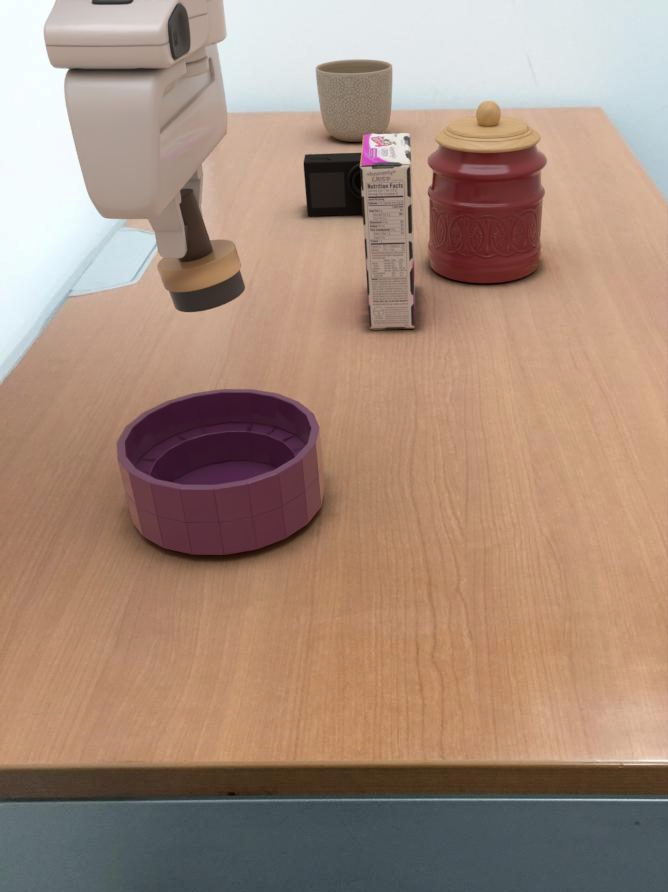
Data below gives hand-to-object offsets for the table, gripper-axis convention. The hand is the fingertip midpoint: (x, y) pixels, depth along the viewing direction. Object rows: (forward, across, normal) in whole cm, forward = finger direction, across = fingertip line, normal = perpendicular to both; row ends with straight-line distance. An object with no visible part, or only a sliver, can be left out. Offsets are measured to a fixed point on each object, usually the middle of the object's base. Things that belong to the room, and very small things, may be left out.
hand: (182, 244), depth 63 cm
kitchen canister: (+19, -47, +21) cm, 55 cm away
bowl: (+18, +3, +2) cm, 19 cm away
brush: (+4, 0, +1) cm, 4 cm away
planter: (+19, -107, +1) cm, 108 cm away
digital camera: (+19, -67, +3) cm, 69 cm away
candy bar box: (+19, -34, +11) cm, 40 cm away
